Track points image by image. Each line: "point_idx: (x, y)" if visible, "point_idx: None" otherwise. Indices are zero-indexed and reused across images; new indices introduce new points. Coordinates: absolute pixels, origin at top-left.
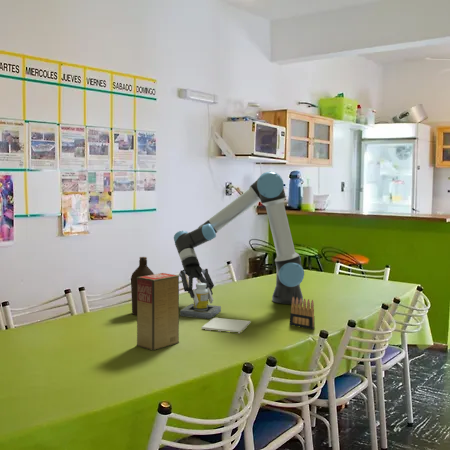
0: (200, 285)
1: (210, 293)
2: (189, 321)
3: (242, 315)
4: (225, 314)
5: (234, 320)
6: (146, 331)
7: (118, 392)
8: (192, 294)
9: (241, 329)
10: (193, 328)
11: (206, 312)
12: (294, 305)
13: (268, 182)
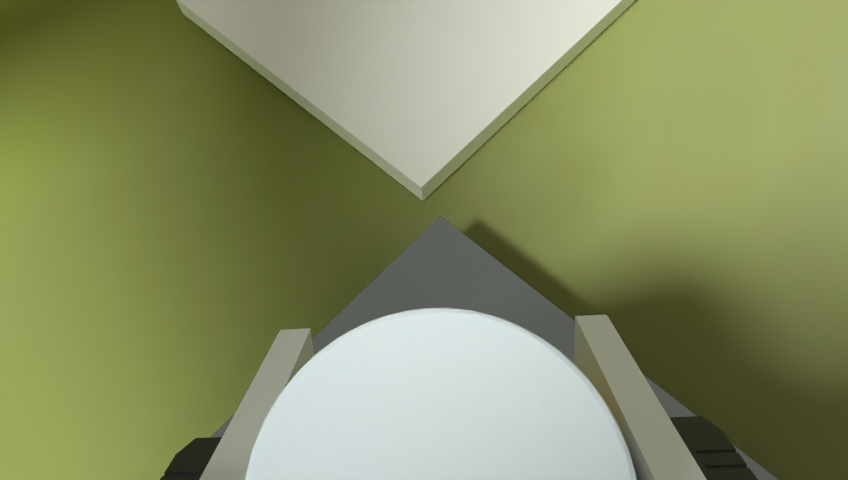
0: (524, 336)
1: (255, 405)
2: (711, 231)
3: (42, 270)
4: (177, 379)
5: (288, 48)
6: None
7: None
8: (705, 442)
9: None
10: (721, 18)
11: (476, 263)
12: None
13: None
